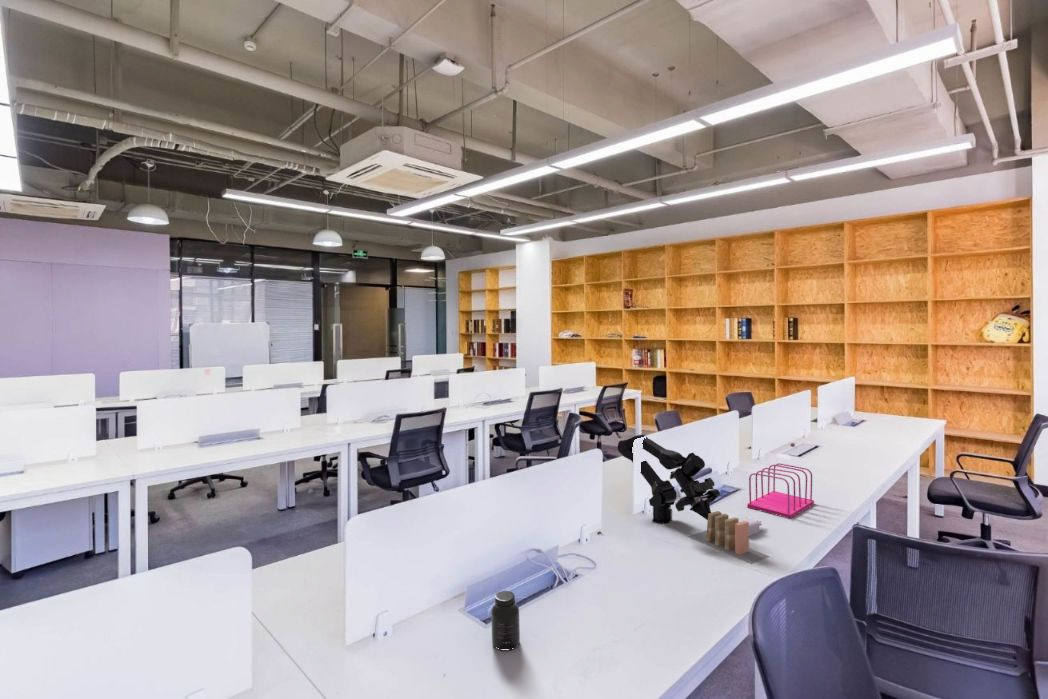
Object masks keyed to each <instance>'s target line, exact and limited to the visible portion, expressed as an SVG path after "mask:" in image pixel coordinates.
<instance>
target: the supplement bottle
mask: <svg viewBox="0 0 1048 699" xmlns="http://www.w3.org/2000/svg"><path fill="white" fill-rule="evenodd" d="M515 596H516V595H515V593H514V592H512V591H509V590H502V591H499V592H497V593H496V594H495V595H494V604H493V606H492V608H491V611H490V613H491V643H492V646H493V645H494V646H495V647H497V648H499V649H512V648H514V649H516V648H517V647H518V646H519V644H520V641H521V640H520V639H521V638H520V635H521V632H520V609H519V606H518V605H517V603H516V597H515ZM517 645H518V646H517ZM494 646H493V647H494ZM516 646H517V647H516ZM495 647H494V648H495ZM515 647H516V648H515ZM512 650H513V649H512Z"/></svg>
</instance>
